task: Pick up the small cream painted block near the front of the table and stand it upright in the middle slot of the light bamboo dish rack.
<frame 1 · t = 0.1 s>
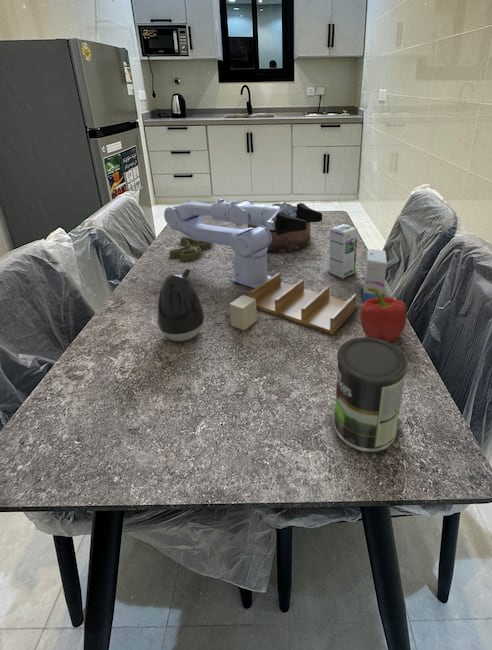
hand: (313, 221, 93), 22 cm above the table, tool horizontal, fingers open, 7 cm apart
vegetable: (380, 335, 87), on the table
dish rack: (302, 306, 98), on the table
syrup box: (341, 273, 116), on the table
block: (244, 323, 92), on the table
ink box: (372, 296, 103), on the table
cooking pot: (279, 242, 140), on the table
cookie cutter: (192, 250, 134), on the table
coffee can: (364, 426, 64), on the table
black rounded egg shape: (183, 334, 88), on the table
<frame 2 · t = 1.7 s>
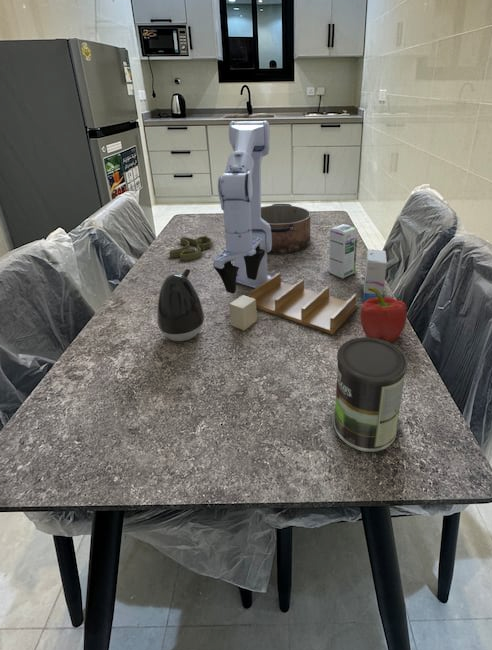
hand: (241, 285, 88), 10 cm above the table, tool pointing down, fingers open, 7 cm apart
nothing on the table moved.
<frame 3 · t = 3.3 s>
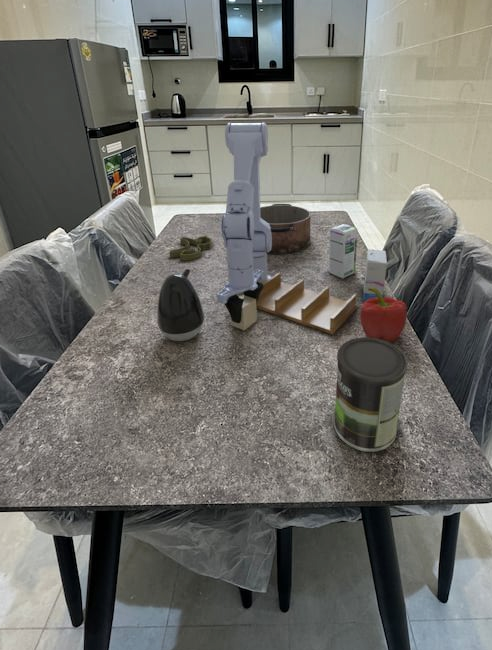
hand: (243, 316, 91), 2 cm above the table, tool pointing down, fingers closed on block, 5 cm apart
block: (244, 323, 92), on the table, touching gripper
everything else where it was.
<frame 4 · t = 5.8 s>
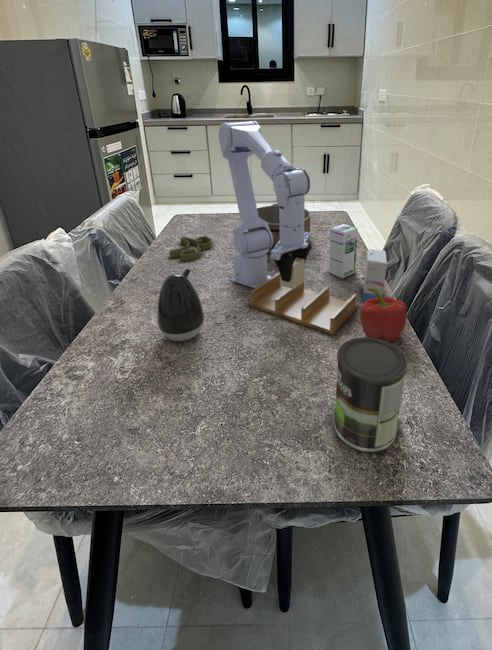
hand: (292, 276, 93), 9 cm above the table, tool pointing down, fingers closed on block, 5 cm apart
block: (292, 283, 94), point 7 cm above the table, touching gripper
everything else where it was.
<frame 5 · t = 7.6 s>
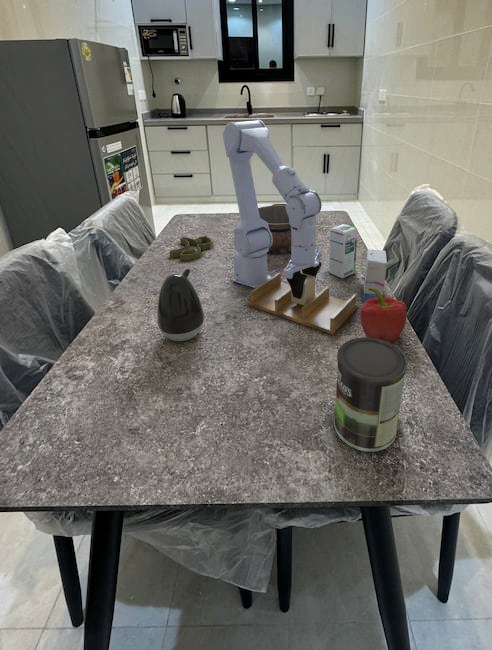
hand: (302, 292, 97), 4 cm above the table, tool pointing down, fingers closed on block, 5 cm apart
block: (303, 299, 97), point 2 cm above the table, touching gripper
everything else where it was.
when the fingers open (3 cm above the table, at t = 8.5 s): block stays where it is, resting on dish rack.
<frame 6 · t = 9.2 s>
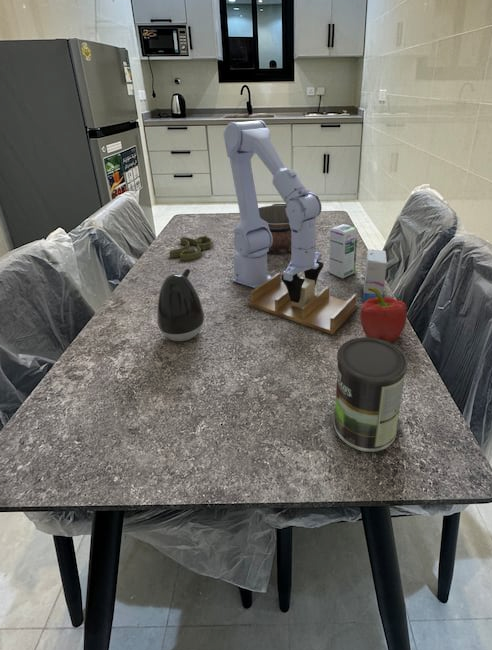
hand: (302, 294, 97), 3 cm above the table, tool pointing down, fingers open, 7 cm apart
block: (302, 303, 98), point 1 cm above the table, touching dish rack
everything else where it was.
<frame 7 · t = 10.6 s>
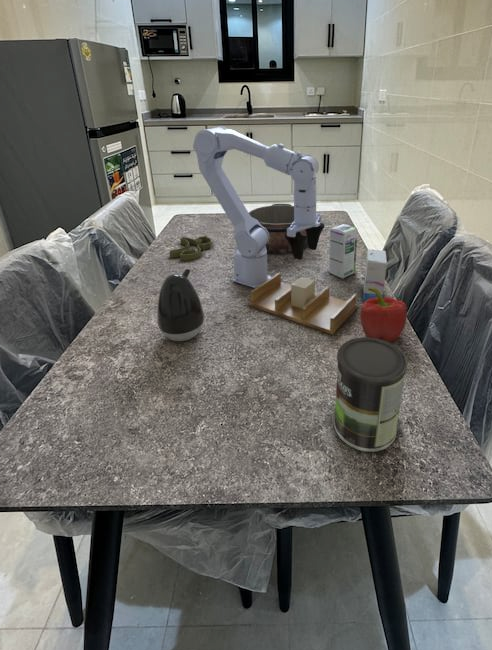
hand: (305, 253, 103), 10 cm above the table, tool pointing down, fingers open, 7 cm apart
nothing on the table moved.
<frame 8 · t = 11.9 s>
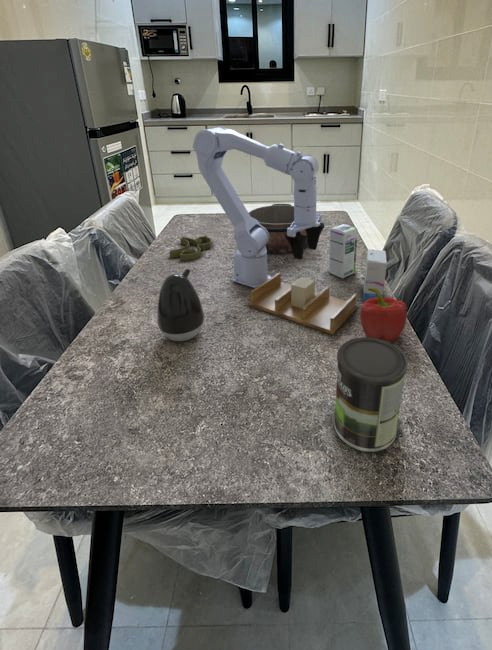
hand: (305, 253, 103), 10 cm above the table, tool pointing down, fingers open, 7 cm apart
nothing on the table moved.
at the end: block inside the target area on the dish rack (0.0 cm from its centre), point 1.0 cm above the dish rack's base; block tilted 0°; the gripper is holding nothing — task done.
